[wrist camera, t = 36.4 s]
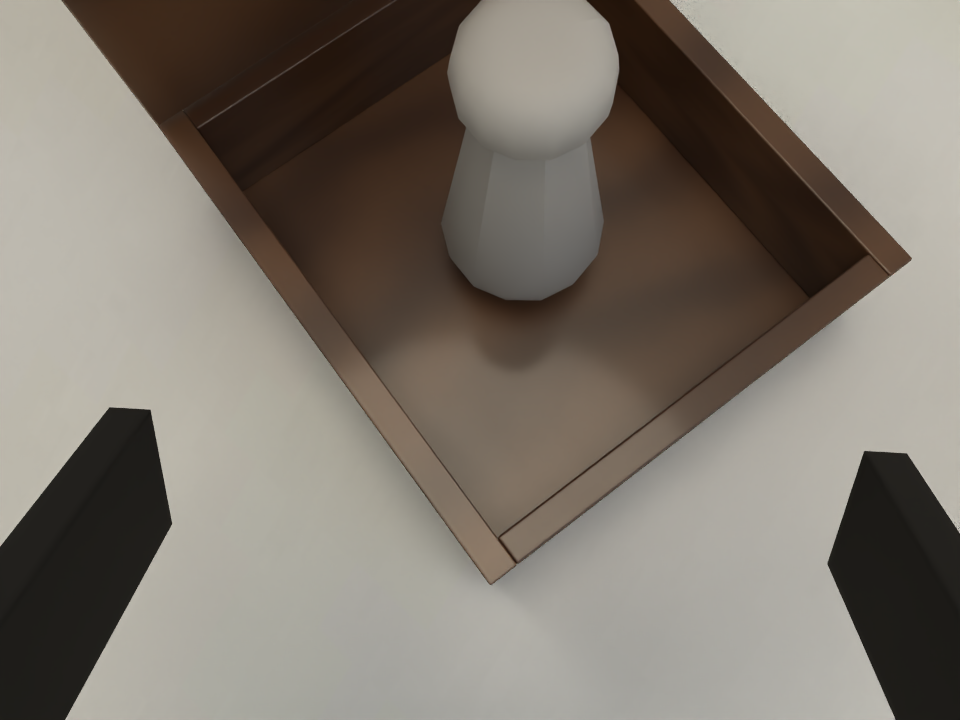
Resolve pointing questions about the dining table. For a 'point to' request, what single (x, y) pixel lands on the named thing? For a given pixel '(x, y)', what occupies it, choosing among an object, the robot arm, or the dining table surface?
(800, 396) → the dining table surface
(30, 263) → the dining table surface
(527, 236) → the salt shaker
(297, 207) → the wooden box
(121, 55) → the lid
